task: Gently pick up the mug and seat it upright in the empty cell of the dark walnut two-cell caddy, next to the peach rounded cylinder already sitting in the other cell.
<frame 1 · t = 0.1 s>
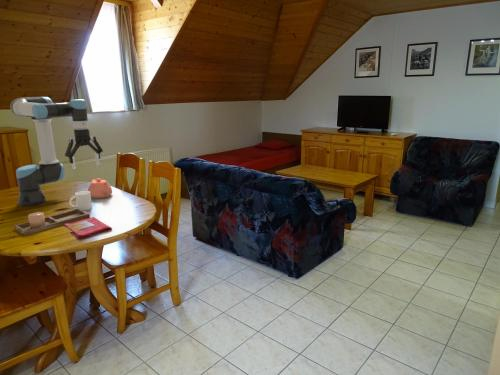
hand: (86, 166, 202), 28 cm above the table, fingers open, 13 cm apart
peach rounded cylinder: (38, 227, 188), point 1 cm above the table, touching caddy
teapot: (101, 196, 242), on the table
caddy: (54, 224, 194), on the table
mug: (81, 209, 217), on the table
dish towel: (87, 229, 189), on the table
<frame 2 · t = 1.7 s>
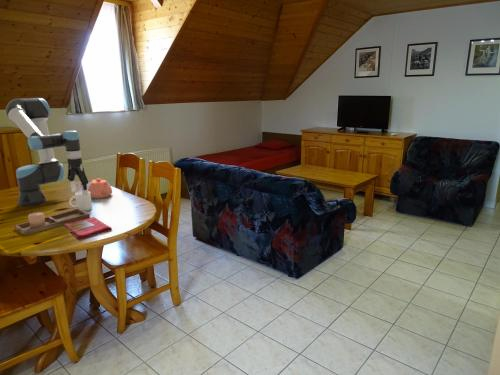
hand: (79, 193, 214), 10 cm above the table, fingers open, 13 cm apart
nothing on the table moved.
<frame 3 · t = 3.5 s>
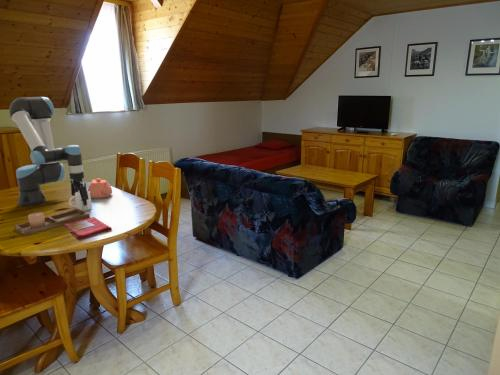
hand: (81, 208, 216), 0 cm above the table, fingers closed on mug, 8 cm apart
mug: (81, 209, 217), on the table, touching gripper
everything else where it was.
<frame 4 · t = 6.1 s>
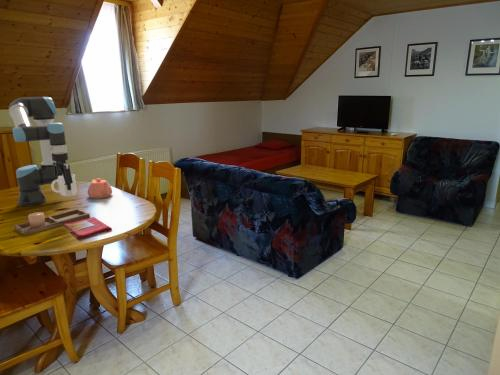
hand: (65, 194, 196), 15 cm above the table, fingers closed on mug, 8 cm apart
mug: (65, 195, 196), point 14 cm above the table, touching gripper
everything else where it was.
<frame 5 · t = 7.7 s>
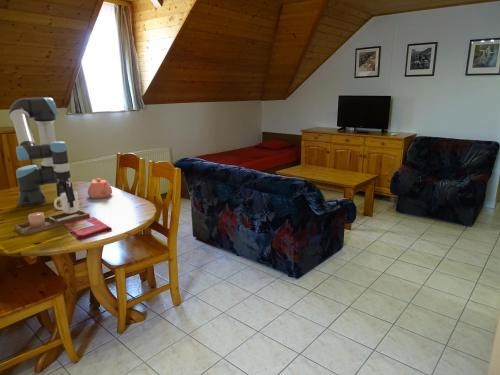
hand: (68, 211, 198), 5 cm above the table, fingers closed on mug, 8 cm apart
mug: (67, 212, 199), point 5 cm above the table, touching gripper
everything else where it was.
when the fingers open (4 cm above the table, at t = 8.9 s): mug drops 2 cm, resting on caddy.
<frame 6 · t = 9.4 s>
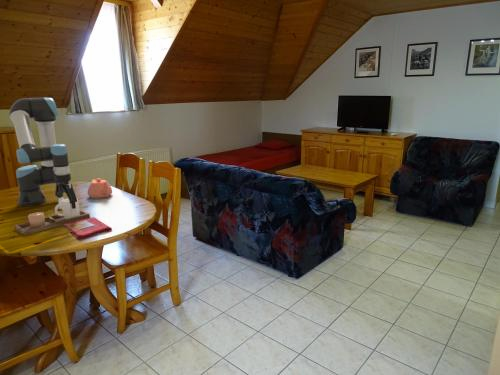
hand: (68, 211, 198), 5 cm above the table, fingers open, 13 cm apart
mug: (68, 218, 200), point 1 cm above the table, touching caddy
everything else where it was.
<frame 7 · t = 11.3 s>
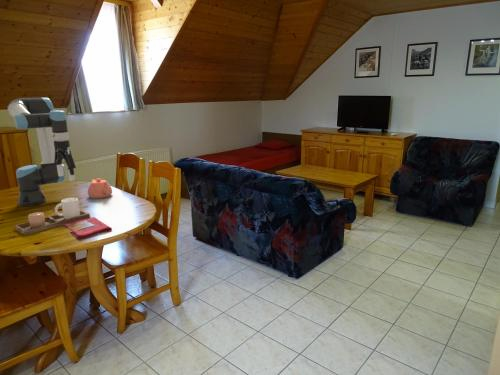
hand: (66, 178, 200), 22 cm above the table, fingers open, 13 cm apart
nothing on the table moved.
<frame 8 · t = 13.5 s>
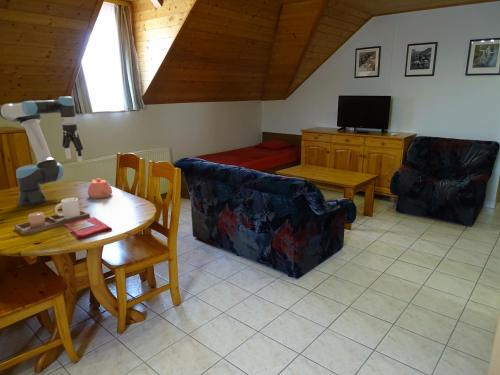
hand: (74, 160, 215), 29 cm above the table, fingers open, 13 cm apart
nothing on the table moved.
at the end: mug inside the target area on the caddy (0.9 cm from its centre), point 0.8 cm above the caddy's base; mug tilted 0°; the gripper is holding nothing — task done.
